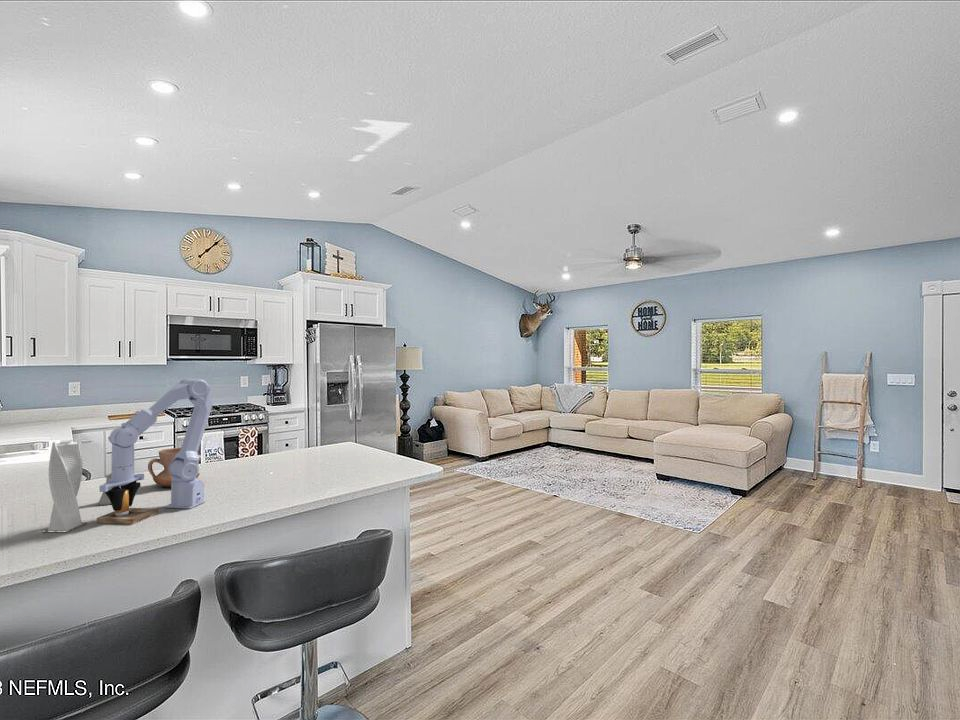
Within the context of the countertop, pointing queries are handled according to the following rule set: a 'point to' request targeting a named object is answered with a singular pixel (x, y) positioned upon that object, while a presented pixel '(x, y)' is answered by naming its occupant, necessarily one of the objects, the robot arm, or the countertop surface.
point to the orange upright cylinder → (124, 506)
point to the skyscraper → (65, 484)
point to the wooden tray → (132, 518)
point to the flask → (104, 498)
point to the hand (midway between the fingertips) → (122, 508)
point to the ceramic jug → (164, 460)
